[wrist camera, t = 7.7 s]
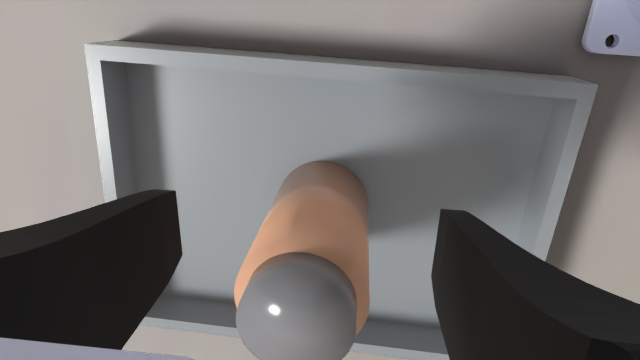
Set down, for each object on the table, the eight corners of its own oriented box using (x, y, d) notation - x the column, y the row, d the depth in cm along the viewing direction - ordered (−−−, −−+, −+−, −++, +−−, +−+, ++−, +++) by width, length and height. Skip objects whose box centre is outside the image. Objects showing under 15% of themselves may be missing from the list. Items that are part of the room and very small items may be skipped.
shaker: (359, 153, 20) (355, 252, 12) (374, 237, 21) (380, 376, 13) (268, 168, 20) (204, 271, 12) (289, 248, 22) (244, 387, 14)
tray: (569, 75, 18) (598, 84, 16) (497, 336, 23) (511, 372, 21) (117, 40, 20) (84, 43, 17) (143, 293, 25) (120, 322, 22)
